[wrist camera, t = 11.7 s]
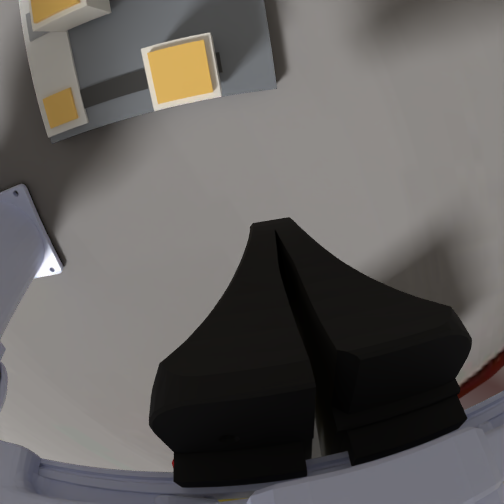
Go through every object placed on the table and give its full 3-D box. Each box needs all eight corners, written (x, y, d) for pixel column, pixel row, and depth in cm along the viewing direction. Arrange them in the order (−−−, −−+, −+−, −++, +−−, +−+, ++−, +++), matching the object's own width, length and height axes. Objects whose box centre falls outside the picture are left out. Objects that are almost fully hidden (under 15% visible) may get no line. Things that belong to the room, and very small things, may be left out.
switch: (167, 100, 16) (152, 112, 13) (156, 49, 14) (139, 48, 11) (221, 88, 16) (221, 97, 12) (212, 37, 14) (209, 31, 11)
